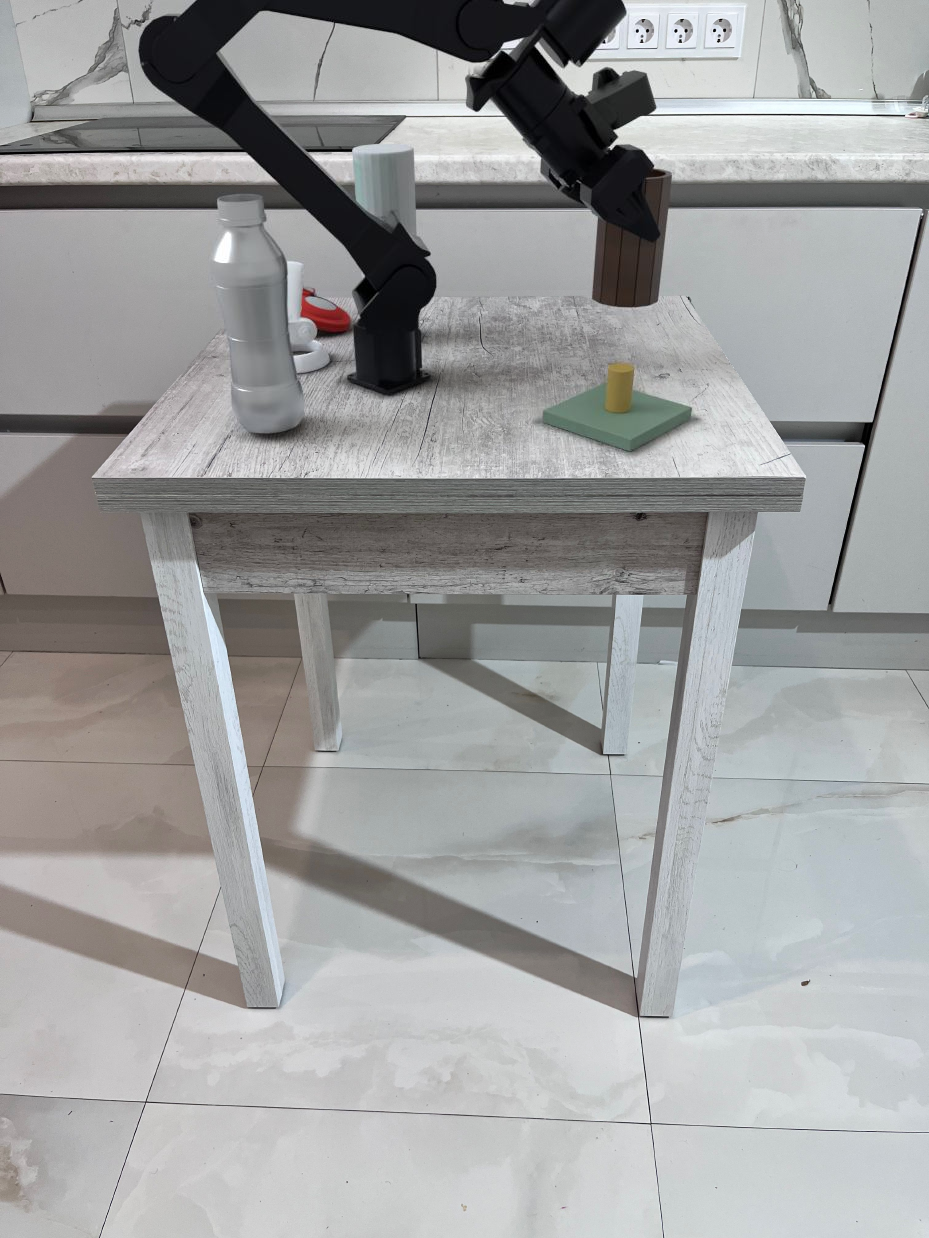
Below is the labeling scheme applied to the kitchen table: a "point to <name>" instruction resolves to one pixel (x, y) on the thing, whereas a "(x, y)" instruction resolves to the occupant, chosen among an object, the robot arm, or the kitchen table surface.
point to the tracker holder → (323, 312)
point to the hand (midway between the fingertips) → (643, 230)
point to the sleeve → (632, 253)
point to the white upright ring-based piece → (302, 325)
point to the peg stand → (617, 412)
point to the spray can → (386, 182)
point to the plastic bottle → (255, 317)
